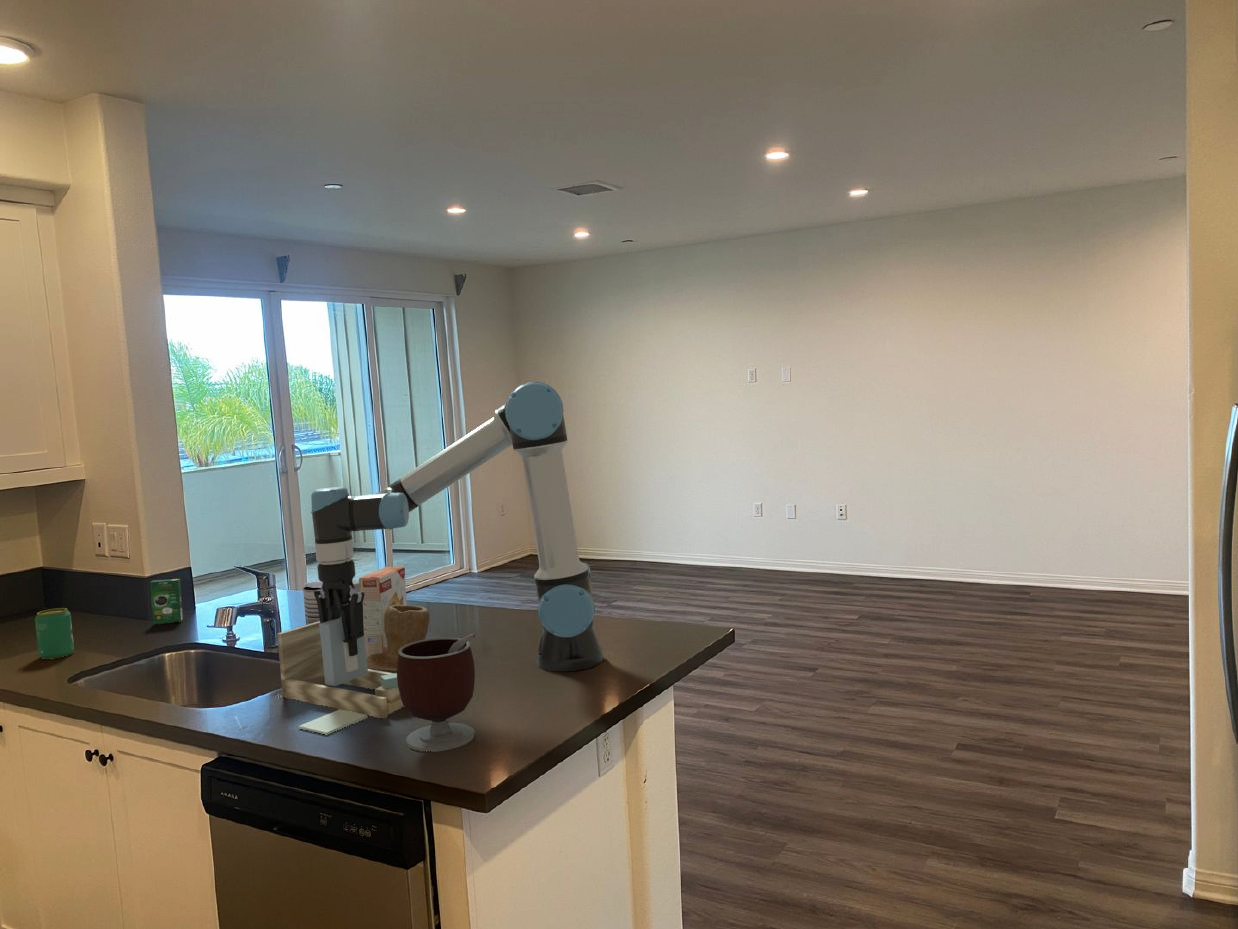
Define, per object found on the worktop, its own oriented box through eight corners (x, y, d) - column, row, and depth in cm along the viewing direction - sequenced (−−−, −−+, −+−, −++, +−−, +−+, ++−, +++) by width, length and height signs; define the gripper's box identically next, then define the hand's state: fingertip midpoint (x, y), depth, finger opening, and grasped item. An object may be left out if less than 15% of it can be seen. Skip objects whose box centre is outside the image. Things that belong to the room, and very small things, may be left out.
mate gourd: (386, 749, 161) (378, 640, 159) (429, 722, 174) (422, 620, 172) (461, 758, 155) (454, 644, 154) (500, 728, 168) (493, 623, 167)
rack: (430, 698, 188) (426, 632, 187) (383, 719, 177) (378, 649, 176) (331, 679, 204) (326, 619, 203) (282, 697, 193) (277, 633, 192)
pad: (367, 718, 178) (367, 715, 178) (326, 735, 169) (326, 732, 169) (340, 712, 182) (340, 709, 182) (299, 729, 174) (298, 726, 174)
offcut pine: (413, 692, 187) (413, 680, 186) (391, 703, 180) (390, 691, 180) (398, 690, 188) (397, 678, 188) (375, 701, 182) (374, 689, 182)
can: (306, 621, 262) (303, 581, 261) (347, 616, 265) (344, 576, 264) (305, 631, 251) (301, 588, 250) (347, 625, 254) (344, 584, 253)
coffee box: (184, 620, 272) (180, 577, 271) (182, 622, 269) (178, 579, 268) (155, 623, 270) (151, 580, 269) (152, 625, 267) (148, 582, 266)
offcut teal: (409, 684, 184) (409, 674, 184) (385, 689, 181) (384, 679, 181) (405, 680, 186) (404, 671, 186) (381, 685, 184) (380, 676, 184)
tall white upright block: (368, 673, 195) (362, 614, 194) (334, 686, 187) (328, 625, 186) (358, 671, 196) (352, 613, 195) (325, 684, 189) (319, 624, 188)
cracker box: (386, 664, 215) (380, 577, 213) (363, 663, 216) (356, 577, 214) (411, 647, 228) (405, 565, 227) (389, 647, 230) (383, 566, 228)
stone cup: (443, 664, 212) (439, 601, 211) (412, 679, 201) (408, 613, 200) (391, 659, 218) (386, 598, 217) (358, 674, 207) (353, 610, 206)
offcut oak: (419, 703, 187) (419, 691, 187) (389, 717, 179) (388, 705, 179) (401, 700, 190) (400, 688, 189) (370, 714, 182) (369, 702, 182)
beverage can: (78, 654, 238) (74, 610, 237) (44, 662, 232) (39, 616, 232) (69, 649, 244) (64, 606, 243) (35, 657, 238) (30, 612, 237)
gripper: (375, 558, 189) (385, 668, 191) (324, 556, 197) (334, 660, 199) (347, 566, 182) (358, 679, 184) (296, 562, 191) (306, 670, 193)
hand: (346, 669), depth 192 cm, fingers closed on tall white upright block, 3 cm apart
